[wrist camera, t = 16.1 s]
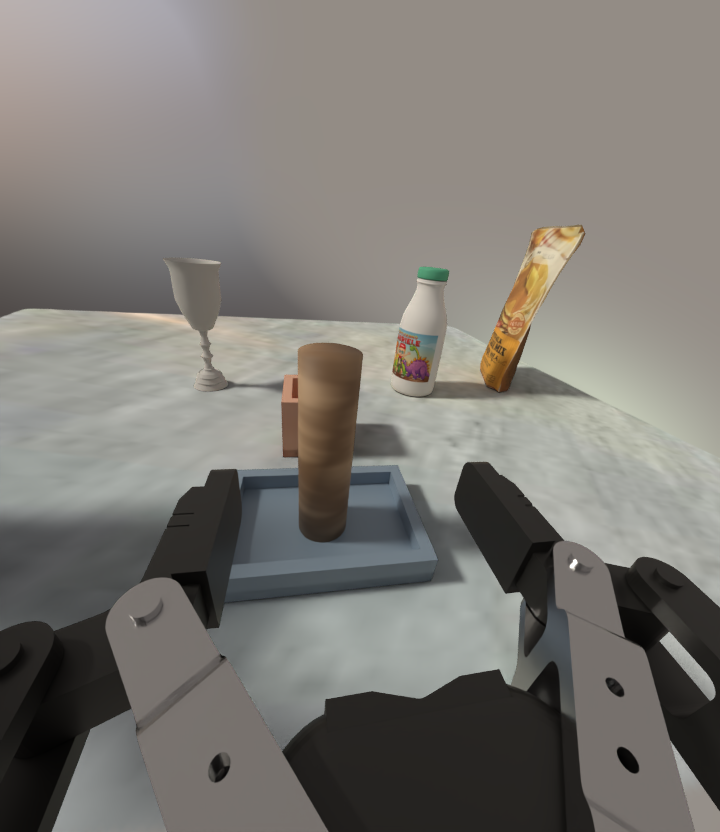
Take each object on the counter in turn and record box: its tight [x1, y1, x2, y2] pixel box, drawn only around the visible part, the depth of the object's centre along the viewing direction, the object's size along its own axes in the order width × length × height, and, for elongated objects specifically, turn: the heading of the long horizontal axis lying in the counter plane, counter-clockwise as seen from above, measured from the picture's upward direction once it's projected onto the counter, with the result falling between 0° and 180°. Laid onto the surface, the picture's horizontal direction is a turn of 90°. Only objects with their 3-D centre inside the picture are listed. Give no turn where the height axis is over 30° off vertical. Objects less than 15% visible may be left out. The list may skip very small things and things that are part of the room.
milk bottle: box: [391, 267, 449, 397], centre depth 52 cm, size 8×8×20 cm
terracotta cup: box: [281, 375, 298, 457], centre depth 38 cm, size 8×8×7 cm
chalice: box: [163, 258, 228, 391], centre depth 46 cm, size 7×7×18 cm
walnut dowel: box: [298, 343, 363, 543], centre depth 23 cm, size 4×4×15 cm
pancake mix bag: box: [480, 225, 585, 392], centre depth 59 cm, size 7×19×28 cm, turn 167°
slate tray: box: [224, 465, 438, 603], centre depth 26 cm, size 16×11×2 cm
